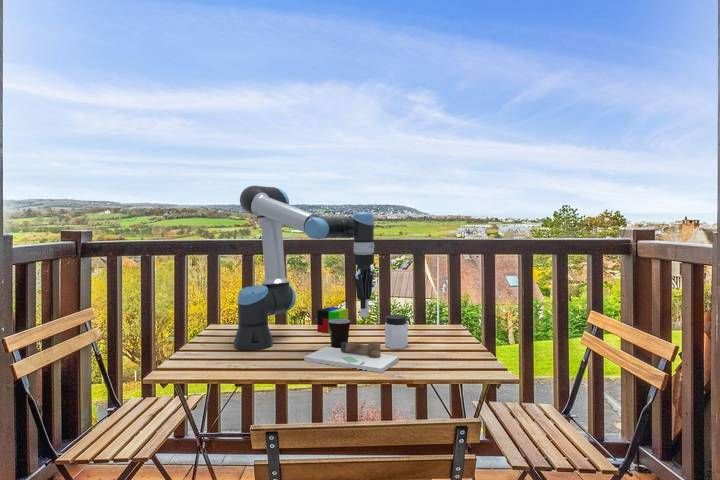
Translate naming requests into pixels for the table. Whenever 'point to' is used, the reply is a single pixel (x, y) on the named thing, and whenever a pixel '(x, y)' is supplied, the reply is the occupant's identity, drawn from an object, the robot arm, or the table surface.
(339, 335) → the coffee mug
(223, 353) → the table surface
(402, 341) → the jar
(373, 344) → the peg pointer
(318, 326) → the puzzle toy
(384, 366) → the board
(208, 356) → the table surface
